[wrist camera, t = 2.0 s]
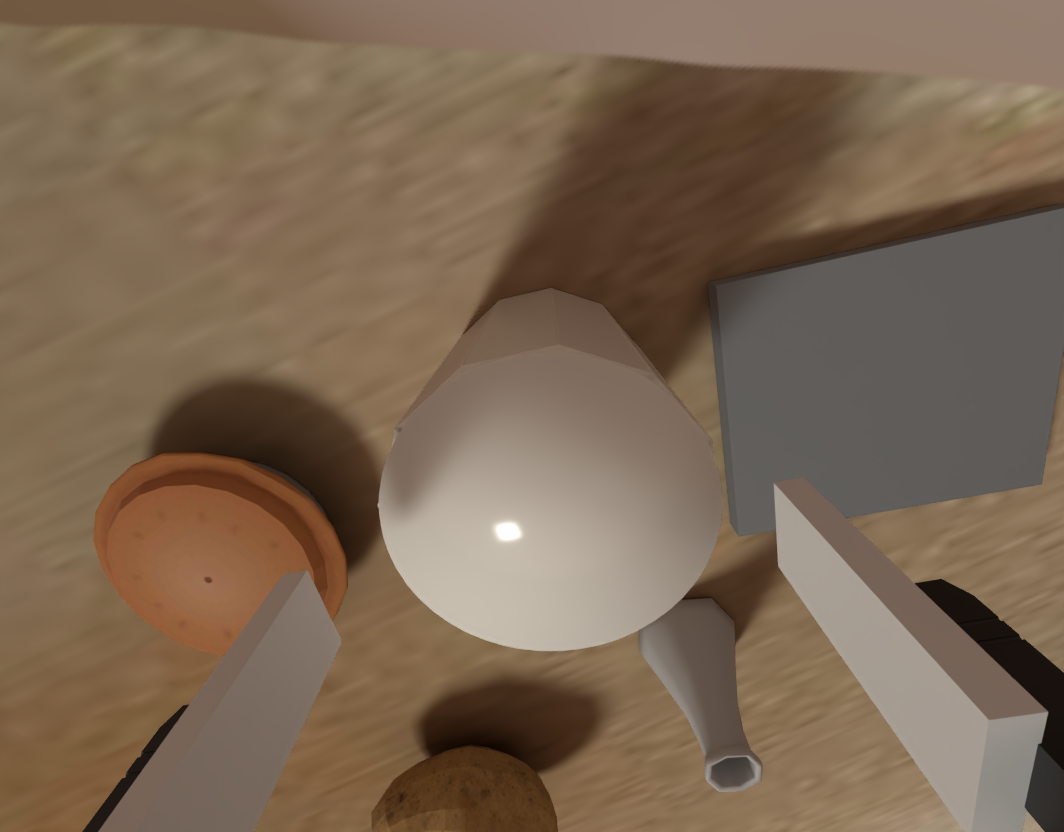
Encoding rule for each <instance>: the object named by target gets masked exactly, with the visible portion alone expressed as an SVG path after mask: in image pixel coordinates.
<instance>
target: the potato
mask: <svg viewBox="0 0 1064 832" xmlns="http://www.w3.org/2000/svg"><path fill="white" fill-rule="evenodd" d="M372 832H558V829H557V816H556V813H555V810H554V807H553V804H552V801H551V798H550V795H549V793H548V791H547V790H546V788H545V786H544V784H543V782H542V780H541V778H540V777H539V776H538V775H537V774H536V773H535V772H534V771H533V770H532V769H531V768H530V767H529V766H528V765H527V764H526V763H524V762H522V761H520V760H518V759H516V758H514V757H512V756H511V755H509V754H506V753H503V752H500V751H498V750H495V749H492V748H489V747H484V746H476V745H466V746H462V747H457V748H452V749H450V750H447V751H444V752H442V753H439V754H436V755H434V756H432V757H430V758H428V759H426V760H423V761H421V762H419V763H418V764H416V765H414V766H413V767H411V768H410V769H408V770H407V771H405V772H404V773H402V774H401V775H400V776H398V777H397V778H396V779H394V780H393V782H392V783H391V785H390V786H389V788H388V789H387V790H386V792H385V793H384V795H383V796H382V798H381V799H380V801H379V802H378V804H377V806H376V807H375V809H374V810H373V812H372Z"/></svg>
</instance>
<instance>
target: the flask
mask: <svg viewBox="0 0 1064 832" xmlns="http://www.w3.org/2000/svg"><path fill="white" fill-rule="evenodd" d="M639 651H640V653H641V654H642V656H643V657H644V658H645V660H646V661H647V663H648V664H649V665H650V666H651V668H652V669H653V670H654V672H655V673H656V674H657V676H658V677H659V678H660V680H661V681H662V682H663V684H664V685H665V687H666V688H667V689H668V691H669V692H670V694H671V695H672V697H673V698H674V699H675V701H676V702H677V704H678V705H679V707H680V708H681V710H682V711H683V712H684V714H685V715H686V717H687V719H688V721H689V723H690V725H691V727H692V729H693V731H694V733H695V735H696V737H697V739H698V741H699V743H700V746H701V749H702V752H703V755H704V758H705V765H704V776H705V779H706V781H707V782H708V783H710V784H711V785H712V786H713V787H714V788H715V789H716V790H718V791H719V792H725V791H742V790H744V789H746V788H748V787H750V786H752V785H754V784H756V783H758V782H760V781H761V777H762V768H763V765H762V762H761V761H760V759H759V758H758V757H757V756H756V755H755V754H754V753H753V752H752V751H751V749H750V747H749V744H748V742H747V739H746V736H745V734H744V731H743V726H742V722H741V717H740V712H739V707H738V703H737V685H736V666H735V623H734V621H733V620H732V619H731V618H730V617H729V616H728V615H727V614H726V613H725V611H724V610H723V609H722V608H721V607H720V606H719V605H718V604H717V603H716V602H715V601H714V600H713V599H712V598H704V599H688V600H680V601H679V602H678V603H677V604H675V605H674V606H673V607H672V608H671V609H670V610H669V611H667V612H666V613H665V614H663V615H662V616H661V617H659V618H658V619H657V620H655V621H654V622H652V623H650V624H649V625H647V626H645V627H643V628H642V629H640V630H639Z"/></svg>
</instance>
